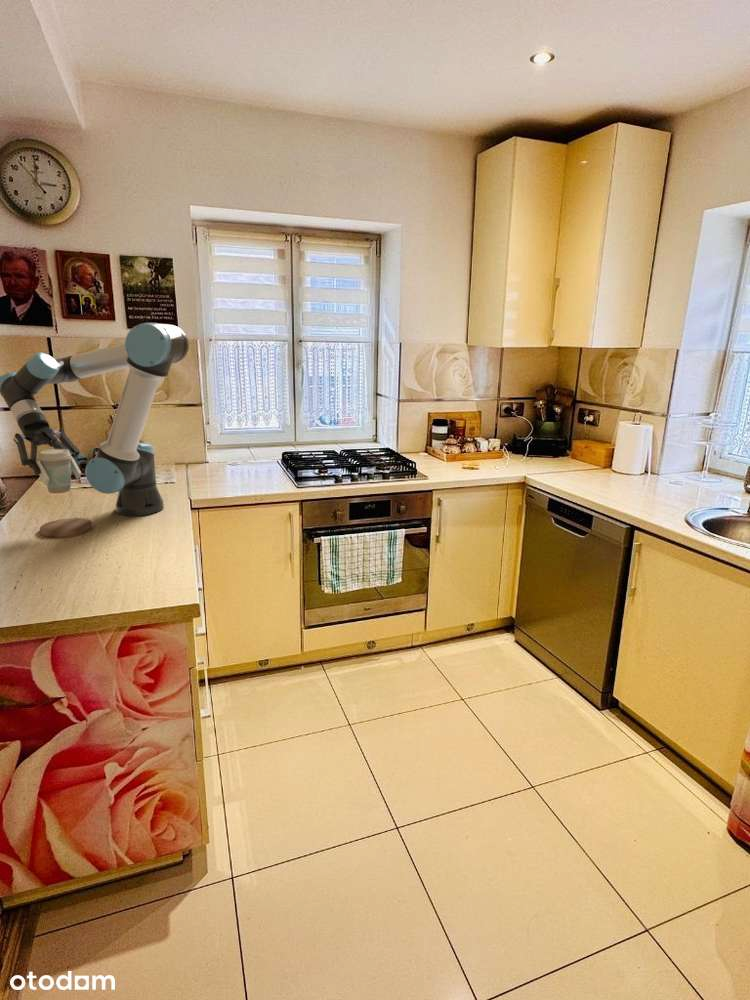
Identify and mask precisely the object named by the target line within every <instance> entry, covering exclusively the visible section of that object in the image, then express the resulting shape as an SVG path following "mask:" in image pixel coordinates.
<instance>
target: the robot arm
mask: <svg viewBox="0 0 750 1000" xmlns="http://www.w3.org/2000/svg"><path fill="white" fill-rule="evenodd" d="M189 343H190V342H189V339H188V336H187V335H186V333H185V332H184V331H183V330H182V329H181V328H180V327H178V326H176V325H175V324H170V323H158V322H143V323H139V324H137V325H134V326H133V327H132V328H131V329H130V330H129V331H128V333H127V335H126V337H125V341H124V342H122V343H118V344H114V345H109V346H106V347H103V348H97V349H93V350H90V351H86V352H80V353H77V354H73V355H69V356H68V355H67V356H64V357H59V358H54V357H53V356H51V355H49V354H48V353H45V352H42V351H41V352H36V353H35V354H34V355H33V356H31V357H29V358H28V360H27V361H26V362H25V363H24V365H23V366H21V368H20V369H19V370H18V371H17V372H15V371H12V372H11V371H10V372H6V373H4V374H3V375H0V395H1V397H2V399H3V401H4V402H5V403H6V405H7V407H8V409H9V411H10V413H11V415H12V416H13V418H14V420H15V422H16V423H17V426H18V427H19V429H20V431H21V433H19V432H18V433H17V432H16V433H15V434H14V437H13V441H14V443H15V444H16V446H17V450H18V455H19V459H20V462H21V465H22V466H24V467H25V466H28V467H29V468H30V469H32V470H33V472H34V474H35V475H39V477H40V479H41V480H42V483H43V484H44V485H45V486H47V484H48V482H49V477H48V475H47V473H46V472H45V470H44V468H43V466H42V464H41V462H40V460H37V456H38V446H42V445H47V446H49V447H51V448H52V449H67V450H69V452H70V454H71V456H72V457H71V472H72V473H73V474H74V477H75V478H76V480H78V479H80V478H81V476H82V471H81V470H80V463H79V461H78V459H77V458H78V457H79V455H80V453H81V450H79V449H78V447H77V446H76V445H75V444H74V443H73V442H72V440H71V439H70V438H69V437H68V436H67V435H66V432H65V430H64V429H63V428H59V430H54V429H53V428H52V427H50V424H49V421H48V420H47V417H46V416H45V415H44V413H43V410H42V408H41V407H40V406H39V404H38V402H37V400H36V398H35V395H36V394H38V393H40V391H41V390H42V389H43V388H44V387H45V386H46V385H47V386H48V385H54V384H55V385H56V384H62V383H72V382H77V381H79V380H81V379H86V378H89V377H94V376H98V375H103V374H106V373H108V374H109V373H111V372H116V371H121V370H125V369H129V371H128V374H127V377H126V381H125V384H124V387H123V389H122V393H121V396H120V399H119V402H118V405H117V409H116V410H115V411H116V412H115V415H114V417H113V420H112V421H113V422H112V424H111V428H110V431H109V435H108V437H107V439H106V440H105V441H103V442H101V443H100V445H99V446H98V450H97V453H96V456H95V457H94V458H91V459H90V460H89V461H88V462H87V463H86V465H85V470H84V471H85V478H86V479H87V481H88V483H89V485H90V486H91V487H92V488H93V489H94V490H96V491H98V492H99V493H102V494H106V495H107V494H111V495H112V494H114V493H118V495H117V498H116V502H115V512H116V513H117V514H119V515H121V516H128V515H130V516H129V517H131V516H134V517H135V516H136V515H137V516H144V515H145V516H147V515H151V513H152V514H155V512H156V513H159V512H161V511H162V510H164V508H165V507H164V505H165V504H164V500H163V497H162V495H161V493H160V490H159V489H158V486H157V477H156V465H155V464H156V463H155V453H154V449H153V445H152V444H151V443H145V442H140V440H141V438H142V434H143V432H144V428H145V425H146V423H147V420H148V417H149V413H150V411H151V408H152V404H153V401H154V399H155V396H156V394H157V391H158V387H159V385H160V381H161V380H164V379H165V378H167V377H168V375H169V372H170V370H171V366H172V364H177V363H179V362H180V361H182V360H184V359H185V358H186V356H187V354H188V352H189V349H190V347H189V346H190V344H189ZM25 440H26V441H28V442H30V456H28V452H27V449H26V448H27V447H26V445H25V444H26V443H25ZM146 514H147V515H146ZM137 516H136V517H137Z"/></svg>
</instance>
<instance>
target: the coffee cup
mask: <svg viewBox="0 0 750 1000" xmlns="http://www.w3.org/2000/svg"><path fill="white" fill-rule="evenodd" d="M71 457H72V456H71V454H70V452H69V450H67V449H55V448H50V449H44V450H42V451H40V452H39V456H38V461H40V462H41V464H42V466H43V468H44V470H45V472H46V473H47V475H48V477H49V482H48V484H46V488H47V490H48V493H50V494H65V493H67V492H70V491H71V490H72V489H71V488H72V486H71V485H72V478H71V476H72V469H71Z"/></svg>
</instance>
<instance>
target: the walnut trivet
mask: <svg viewBox="0 0 750 1000" xmlns="http://www.w3.org/2000/svg"><path fill="white" fill-rule="evenodd" d="M92 529H93V522H92V520H90V519H88V518H84V517H72V518H71V517H70V518H61V519H56V520H53V521H52V520H51V521H49V522H47V523H44V524H42V525H41V526H39V533H40V535H41V536H42V537H45V538H48V539H51V538H52V539H65V538H72V537H76V535H77V536H80V535H83V533H84V534H85V533H88V532H90V531H92ZM89 530H90V531H89Z"/></svg>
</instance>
